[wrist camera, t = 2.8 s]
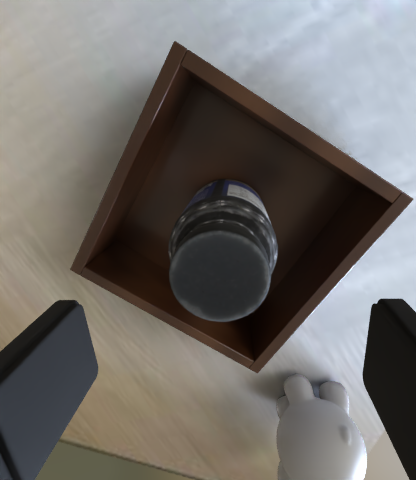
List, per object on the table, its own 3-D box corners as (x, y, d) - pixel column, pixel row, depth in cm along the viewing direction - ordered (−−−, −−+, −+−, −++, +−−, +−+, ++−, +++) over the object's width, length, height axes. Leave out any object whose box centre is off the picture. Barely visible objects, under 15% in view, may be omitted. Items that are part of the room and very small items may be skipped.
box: (106, 240, 26) (69, 270, 20) (191, 65, 20) (174, 40, 15) (253, 324, 27) (257, 373, 22) (369, 182, 22) (414, 199, 16)
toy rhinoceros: (248, 440, 33) (251, 539, 25) (285, 360, 28) (303, 449, 20) (310, 457, 33) (333, 562, 25) (356, 380, 28) (402, 476, 20)
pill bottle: (198, 255, 25) (169, 342, 15) (181, 185, 23) (134, 228, 13) (270, 243, 24) (295, 327, 14) (259, 169, 22) (277, 201, 12)
